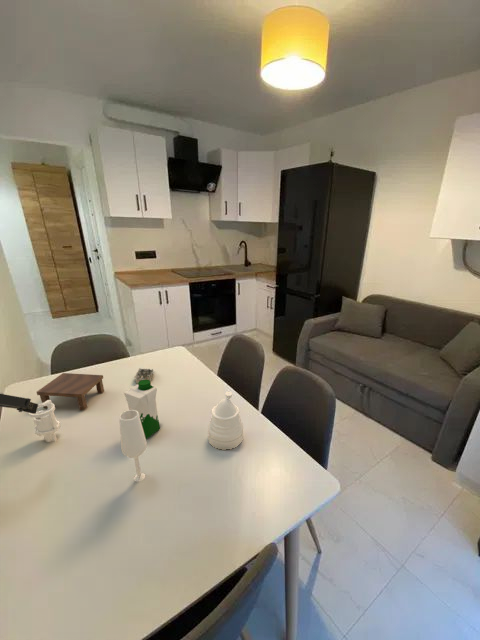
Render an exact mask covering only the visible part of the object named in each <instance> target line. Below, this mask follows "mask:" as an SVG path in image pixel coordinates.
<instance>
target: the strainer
mask: <svg viewBox="0 0 480 640" xmlns="http://www.w3.org/2000/svg"><path fill="white" fill-rule="evenodd" d="M37 404H38V407H37V409H40V408H44V407H43V406H47V407H48V408H46V409H45V410H43V409H41V410H39V411H38V410H37V411H36V414H32V413H28V416H29V417H30V418H33V422H34V425H35V427H34V429H33V431H34V434H35V435H37V436H39V437H40V436H41V437H44V439H45V442H47V443H50V442H57V441H58V438H57V435H56V431H58V430H59V429H60V428H61V422H60V421H59V420H57V418H56V415H55V413H54V412H55V410H56V407H55V406H56V405H55V403H53V402H52V399H50V400H47V401H46V402H44V403H42V402H41V403H37Z"/></svg>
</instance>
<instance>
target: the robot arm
mask: <svg viewBox="0 0 480 640" xmlns="http://www.w3.org/2000/svg"><path fill="white" fill-rule="evenodd" d="M38 404H39V403H35V402H32V399H31V398H29V397H27V398H26V397H21V396H15V395H10V394H4V393H0V408H7V409H16V411H18V412H19V413H22V412H25V413H28V414H29V413H32V414H36V411H37V412H38V408H37V407H38Z"/></svg>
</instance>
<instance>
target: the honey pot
mask: <svg viewBox="0 0 480 640" xmlns="http://www.w3.org/2000/svg"><path fill="white" fill-rule="evenodd" d="M224 396H225V398H222V399H221V400H219V402H218V403H217V404H216V405H214V406H213V407H212V409H211V410H210V413H211V417H210V420H209V422H208V425H207V441H208V440H209V441H208V444H209V445H210V444H211V445H212V446H213V448H214V447H215V448H214V449H216V448H218V449H217V450H219V449H222V450H221V451H227V450H226V449H230V450H233V449H232V448H234V449H235V447H236V448H237V446H238V445H239V444H240V443H241V442H242V443H243V441H242V440H244V423H243V421H242V418H241V416H240V412H241V411H240V408H239V406H237V405H236V404H234V402H233V401H232V400H230V399H231V398H232V397H233V392H232V391H226V392H225V393H224ZM242 443H241V444H242ZM241 444H240V445H241ZM211 445H210V446H211ZM240 445H239V446H240ZM212 446H211V447H212ZM239 446H238V447H239Z"/></svg>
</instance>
